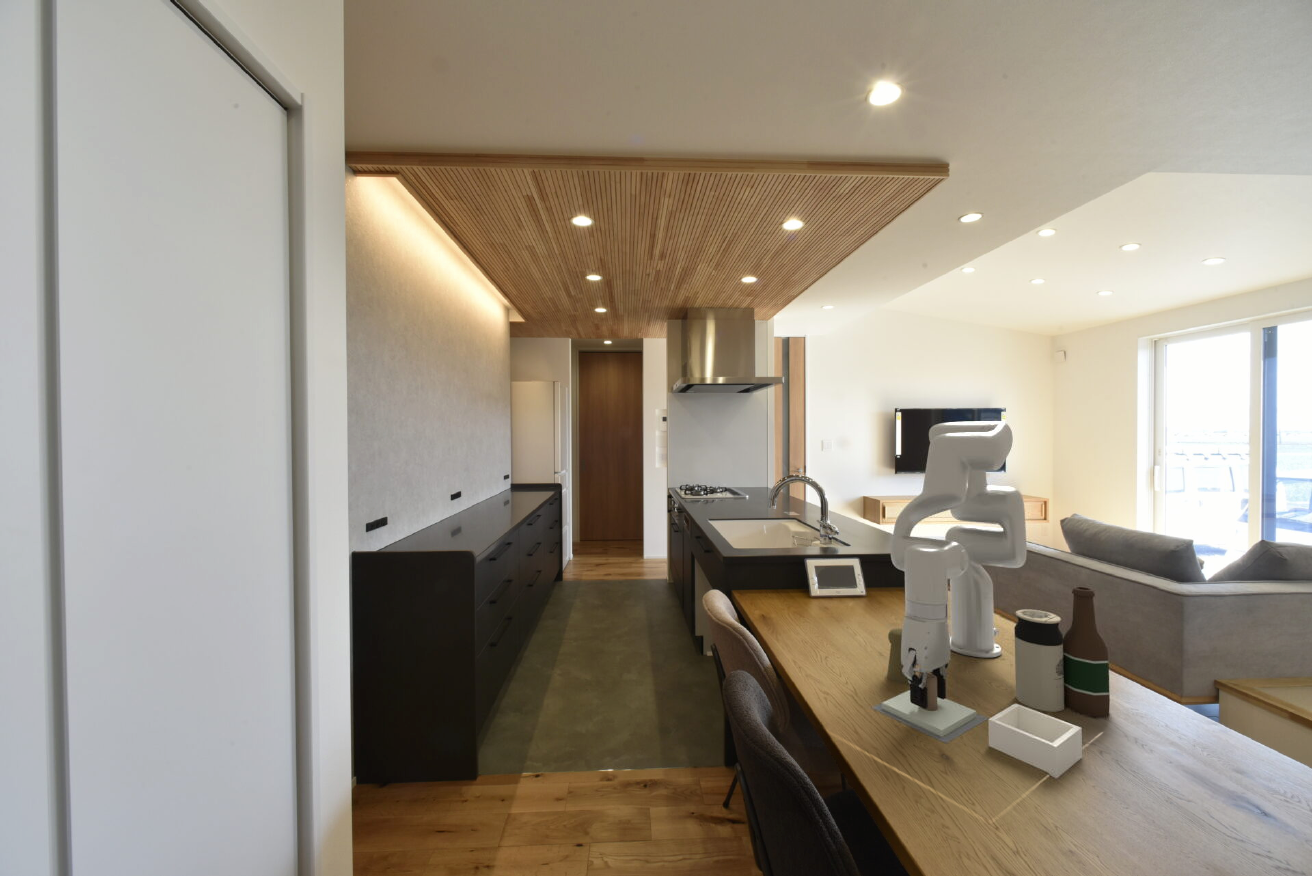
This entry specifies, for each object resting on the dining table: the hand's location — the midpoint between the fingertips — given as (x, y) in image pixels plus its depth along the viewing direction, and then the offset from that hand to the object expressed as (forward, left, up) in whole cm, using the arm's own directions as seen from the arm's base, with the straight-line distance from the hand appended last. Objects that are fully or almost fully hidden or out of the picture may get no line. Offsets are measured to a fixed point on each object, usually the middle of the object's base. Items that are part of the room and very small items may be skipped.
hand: (928, 699), depth 102 cm
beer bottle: (-28, +16, -3) cm, 32 cm away
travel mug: (-23, +10, -3) cm, 25 cm away
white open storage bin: (-3, +17, -3) cm, 18 cm away
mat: (0, 0, -3) cm, 3 cm away
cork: (-10, -12, -3) cm, 16 cm away
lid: (0, 0, -3) cm, 3 cm away
